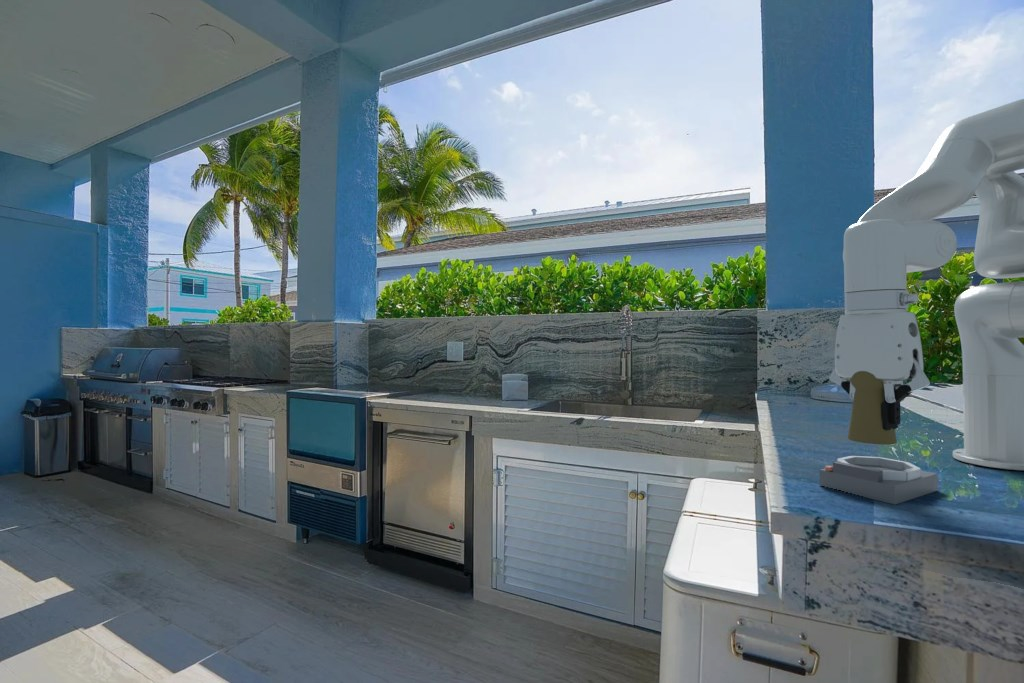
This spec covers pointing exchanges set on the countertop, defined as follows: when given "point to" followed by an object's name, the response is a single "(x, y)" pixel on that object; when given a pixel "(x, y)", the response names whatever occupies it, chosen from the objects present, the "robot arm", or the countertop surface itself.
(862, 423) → the cork
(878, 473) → the octagon ring plate
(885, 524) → the countertop surface
